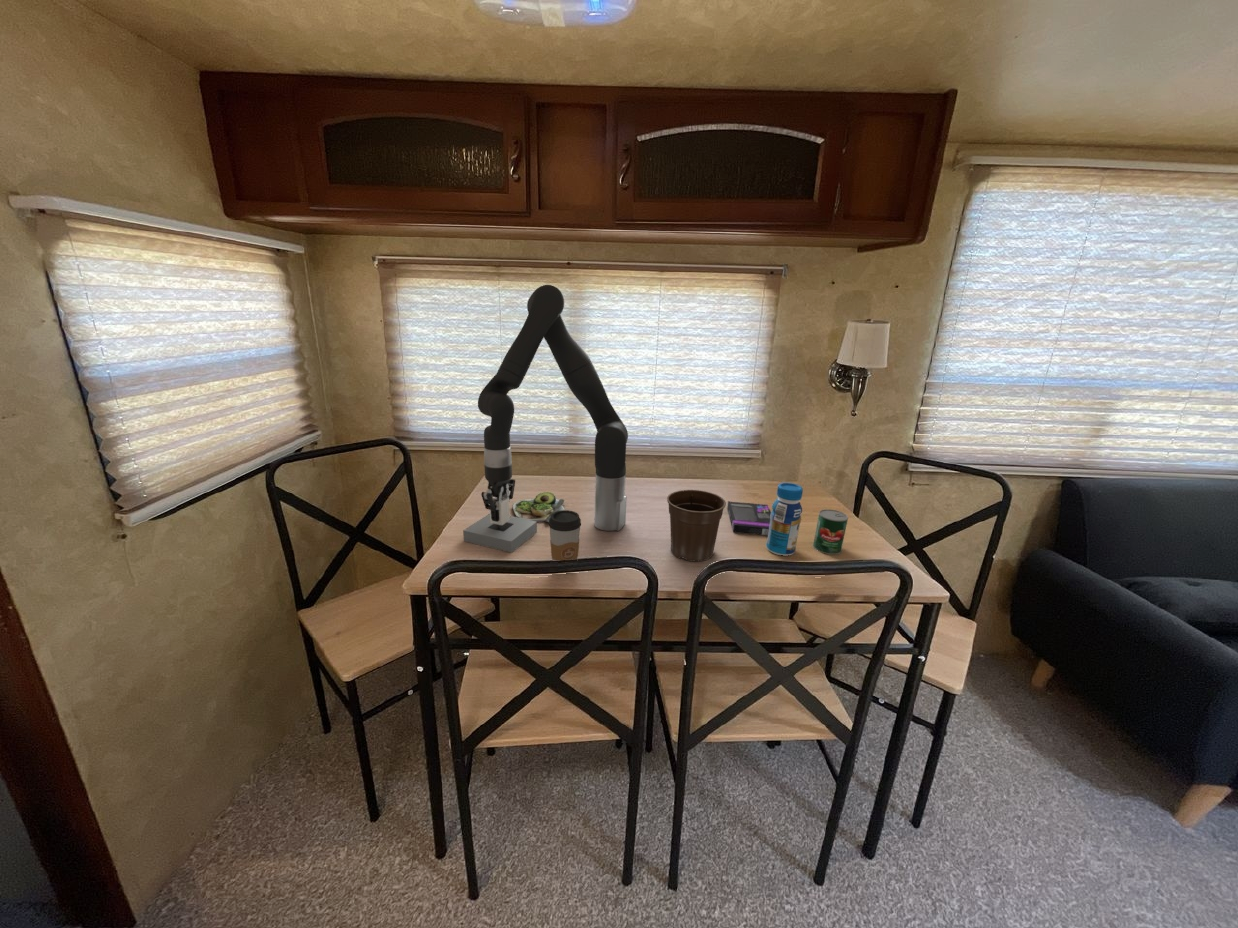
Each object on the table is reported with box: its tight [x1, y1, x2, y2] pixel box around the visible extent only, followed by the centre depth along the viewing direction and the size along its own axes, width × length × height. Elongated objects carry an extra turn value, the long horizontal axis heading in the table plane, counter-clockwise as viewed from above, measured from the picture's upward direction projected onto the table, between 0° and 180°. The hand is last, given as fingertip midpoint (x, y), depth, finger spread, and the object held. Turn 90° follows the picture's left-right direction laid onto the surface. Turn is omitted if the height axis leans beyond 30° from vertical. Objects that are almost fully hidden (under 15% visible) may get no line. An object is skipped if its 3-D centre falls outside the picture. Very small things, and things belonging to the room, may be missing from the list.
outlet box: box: [462, 513, 538, 553], centre depth 143 cm, size 16×14×4 cm
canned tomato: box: [812, 508, 849, 555], centre depth 142 cm, size 8×8×11 cm
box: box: [726, 500, 772, 536], centre depth 160 cm, size 14×4×20 cm
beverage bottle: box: [765, 482, 804, 557], centre depth 139 cm, size 8×8×20 cm
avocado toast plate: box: [512, 491, 565, 523], centre depth 159 cm, size 19×18×5 cm
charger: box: [489, 497, 511, 525], centre depth 141 cm, size 4×4×7 cm
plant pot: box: [666, 489, 727, 562], centre depth 136 cm, size 16×16×16 cm
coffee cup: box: [548, 509, 582, 561], centre depth 126 cm, size 8×8×15 cm
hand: (500, 517), depth 141 cm, fingers closed on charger, 4 cm apart
